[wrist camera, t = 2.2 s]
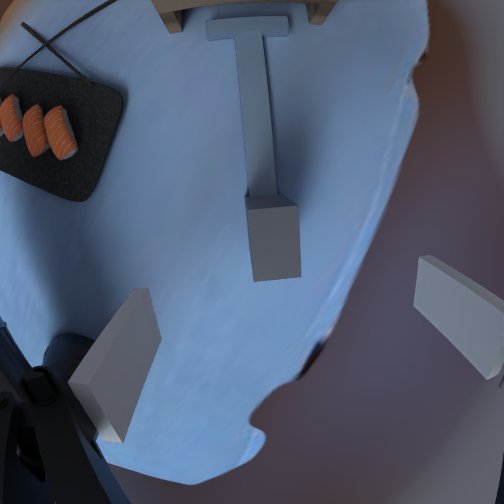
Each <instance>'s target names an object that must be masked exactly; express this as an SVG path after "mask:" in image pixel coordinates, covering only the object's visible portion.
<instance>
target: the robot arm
mask: <svg viewBox="0 0 504 504" xmlns="http://www.w3.org/2000/svg"><path fill="white" fill-rule="evenodd" d="M414 307H415V308H416V309H417V310H419V311H420V312H421V313H422V314H423V315H424V316H425V317H426V318H427V319H428V320H429V321H430V322H431V323H432V324H433V325H434V326H435V327H436V328H437V329H438V330H439V331H440V332H441V333H443V335H444V336H445V337H446V338H447V339H448V340H449V341H450V342H451V343H453V345H454V346H455V347H457V349H458V350H459V351H460V352H461V353H462V354H463V355H464V356H465V357H466V358H467V359H468V360H469V361H470V362H471V363H472V364H473V365H474V366H475V367H476V368H477V370H478V371H479V372H480V373H481V374H482V375H483V376H484V377H485V378H486V379H487V380H488V379H490V378H491V377H493V376H495V375H497V374H499V372H500V370H501V367H502V365H503V362H504V301H503V300H502V299H500V298H498V297H497V296H495V295H494V294H493V293H491V292H489V291H488V290H487V289H485V288H483V287H482V286H480V285H479V284H477V283H475V282H474V281H473V280H471V279H469V278H468V277H466V276H465V275H463V274H461V273H460V272H458V271H456V270H455V269H453V268H451V267H450V266H448V265H446V264H445V263H443V262H441V261H440V260H438V259H436V258H434V257H433V256H431V255H428V256H422V257H419V263H418V273H417V283H416V291H415V299H414ZM6 326H7V324H6V322H4V321H3V320H2V318H1V317H0V504H55V503H56V504H131V503H130V501H129V499H128V498H127V496H126V495H125V493H124V492H123V490H122V489H121V487H120V485H119V483H118V482H117V480H116V478H115V476H114V475H113V473H112V472H111V469H110V468H109V466H108V464H107V462H106V460H105V458H104V456H103V454H102V452H101V450H100V448H99V446H98V444H97V443H96V439H97V437H98V434H100V436H101V437H102V439H103V440H104V441H109V442H116V443H123V442H124V439H125V436H126V433H127V431H128V428H129V425H130V422H131V419H132V416H133V413H134V411H135V408H136V405H137V402H138V399H139V397H140V394H141V391H142V389H143V386H144V383H145V381H146V378H147V375H148V373H149V370H150V367H151V365H152V362H153V360H154V357H155V354H156V352H157V349H158V347H159V344H160V342H161V339H162V338H161V334H160V331H159V327H158V324H157V320H156V316H155V313H154V309H153V305H152V301H151V297H150V293H149V289H148V288H146V289H134V290H133V291H132V292H131V293H130V295H129V296H128V297H127V299H126V300H125V301H124V303H123V304H122V305H121V307H120V308H119V309H118V311H117V312H116V313H115V315H114V316H113V317H112V319H111V320H110V322H109V323H108V324H107V326H106V327H105V328H104V330H103V331H102V333H101V334H100V335H99V337H98V338H97V340H96V341H93V340H91V339H89V338H87V337H84V336H81V335H77V334H62V335H59V336H58V337H56V338H55V339H54V340H53V341H52V342H51V343H50V345H49V346H48V347H47V349H46V351H45V354H44V358H43V364H42V366H36V367H33V368H32V367H31V365H30V364H29V363H28V361H27V360H26V358H25V356H24V355H23V353H22V352H21V350H20V349H19V347H18V345H17V344H16V342H15V341H14V339H13V337H12V336H11V334H10V332H9V330H8V329H7V327H6ZM503 383H504V376H503V378H502V380H501V382H500V385H499V388H501V387H502V385H503ZM495 504H504V455H503V462H502V470H501V476H500V482H499V487H498V492H497V497H496V501H495Z"/></svg>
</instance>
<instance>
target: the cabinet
mask: <svg viewBox="0 0 504 504" xmlns="http://www.w3.org/2000/svg"><path fill="white" fill-rule="evenodd" d="M151 1H152V3H153V5H154V7H155V8H156V10H157V12H158V14H159V15H160V17H161V19H162V21H163V23H164V24H165V26H166V28H167V30H168V32H169V33H170V34H171V33H176V32H182V9H188V8H194V7H201V6H209V5H218V4H228V3H243V2H303V3H306V8H307V13H308V19H309V24H316V25H322V23H323V22H324V20H325V19H326V17H327V16H328V14H329V13H330V11H331V10H332V8H333V7H334V5H335V4H336V3H337V1H338V0H151Z"/></svg>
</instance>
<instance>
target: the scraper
mask: <svg viewBox="0 0 504 504" xmlns="http://www.w3.org/2000/svg"><path fill="white" fill-rule="evenodd" d="M206 29H207V37H208V41H214V40H223V39H234V38H235V46H236V57H237V68H238V79H239V90H240V101H241V112H242V123H243V134H244V145H245V156H246V167H247V178H248V189H249V196H245V206H246V217H247V228H248V238H249V249H250V257H251V264H252V272H253V280H254V282H257V281H267V280H277V279H287V278H296V277H301V255H300V231H299V211H298V205H296V204H295V203H294V202H292V201H291V200H289V199H288V198H287V197H285V196H284V195H282V194H281V193H277V186H276V173H275V161H274V149H273V137H272V126H271V116H270V105H269V95H268V86H267V76H266V67H265V58H264V49H263V41H262V37H287V35H288V32H289V23H288V17H287V16H255V17H237V18H225V19H215V20H207V21H206Z"/></svg>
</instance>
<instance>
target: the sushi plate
mask: <svg viewBox="0 0 504 504" xmlns="http://www.w3.org/2000/svg"><path fill="white" fill-rule="evenodd" d="M115 1H117V0H109V1H107V2H105V3H104V4H102V5H100V6H98V7H97V8H95V9H93V10H92V11H90V12H89V13H87V14H86V15H84V16H83V17H81V18H80V19H78V20H77V21H75V22H74V23H72V24H71V25H69V26H68V27H67V28H65V29H64V30H62V31H61V32H60V33H58V34H57V35H56V36H54V37H53V38H52V39H50V40H49V41H48V42H45V41H44V40H43V39H42V38H41V37H40V36H39V35H38V34H37V33H36V32H34V31H33V30H32V29H31V28H30V27H29V26H27V25H26V24H25V23H24V22H22V23H21V26H23V27H24V28H25V29H26V30H27V31H28V32H29V33H31V34H32V35H33V36H34V37H35V38H36V39H38V40H39V41H40V42H41V43H42V44H43V46H42V47H40V48H39V49H38V50H37V51H36V52H34V53H33V54H32V55H31V56H30V57H29V58H27V59H26V60H25V61H24V62H23V63H22V64H21V65H20V66H18V67H17V68H0V170H1V171H3V172H5V173H7V174H9V175H12V176H14V177H16V178H18V179H20V180H23V181H25V182H27V183H29V184H31V185H34V186H36V187H38V188H40V189H43V190H45V191H47V192H49V193H52V194H54V195H56V196H59V197H61V198H64V199H67V200H70V201H75V202H81V201H85V200H87V199H88V198H89V197H90V195H91V194H92V192H93V190H94V188H95V186H96V184H97V181H98V179H99V176H100V173H101V170H102V167H103V165H104V162H105V159H106V156H107V153H108V150H109V147H110V145H111V142H112V139H113V136H114V133H115V131H116V128H117V125H118V122H119V119H120V116H121V112H122V106H123V100H122V96H121V95H120V93H119V92H117V91H116V90H114V89H113V88H111V87H108V86H106V85H102V84H99V83H95V82H91V81H88V80H87V79H86V78H85V77H84V76H83V75H82V74H81V73H80V72H79V71H77V70H76V69H75V68H74V67H73V66H72V65H71V64H70V63H69V62H68V61H66V60H65V59H64V58H63V57H62V56H61V55H60V54H59V53H58V52H56V51H55V50H54V49H53V48H52V47H51V46H50V45H49V43H51V42H52V41H53V40H55V39H56V38H58V37H59V36H60V35H62V34H63V33H65V32H66V31H67V30H69V29H70V28H72V27H73V26H75V25H77V24H78V23H80V22H81V21H83V20H84V19H86V18H88V17H89V16H91V15H93V14H94V13H96V12H98V11H100V10H101V9H103V8H105V7H107V6H108V5H110V4H112V3H113V2H115ZM44 47H47V48H48V49H49V50H50V51H51V52H53V53H54V54H55V55H56V56H57V57H58V58H59V59H61V60H62V61H63V62H64V63H65V64H66V65H67V66H68V67H70V68H71V69H72V70H73V71H74V72H75V73H76V74H77V75H78V76H80V77H81V78H82V79H83V80H82V79H78V78H73V77H68V76H62V75H57V74H51V73H45V72H38V71H32V70H24V69H19V68H20V67H22V66H23V65H24V64H25V63H26V62H27V61H28V60H30V59H31V58H32V57H33V56H34V55H36V54H37V53H38V52H39V51H40V50H42V49H43V48H44Z"/></svg>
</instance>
